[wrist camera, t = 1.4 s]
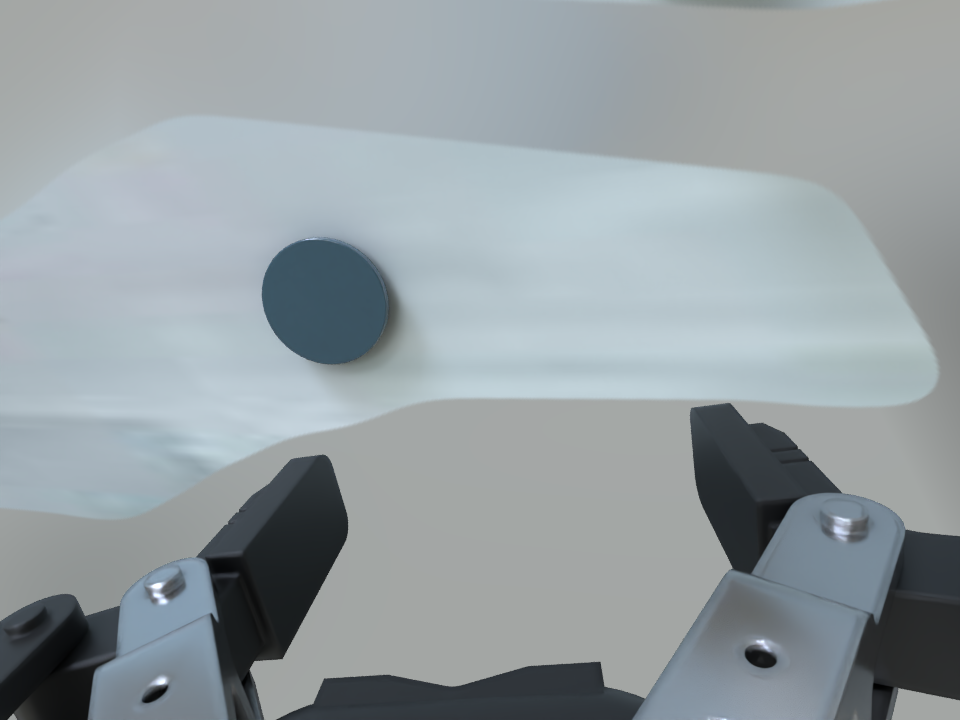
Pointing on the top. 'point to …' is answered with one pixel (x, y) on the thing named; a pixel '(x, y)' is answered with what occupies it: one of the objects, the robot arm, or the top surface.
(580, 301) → the top surface
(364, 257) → the plate
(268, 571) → the robot arm
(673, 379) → the top surface
